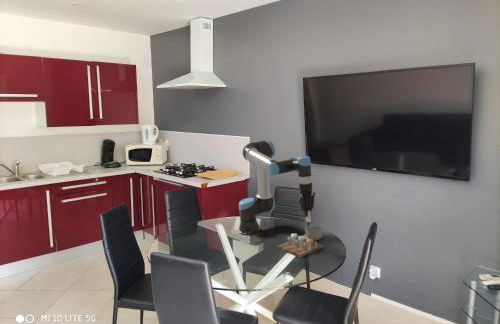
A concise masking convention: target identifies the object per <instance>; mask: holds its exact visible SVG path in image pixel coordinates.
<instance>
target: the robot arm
mask: <svg viewBox="0 0 500 324" xmlns="http://www.w3.org/2000/svg"><path fill="white" fill-rule="evenodd" d="M275 155H276V148H275V145H274V143H273V142H272V141H271V140H269V139H268V140H259V141H254V142H253V141H252V142H248V143H247V144H245V145H244V147H243V149H242V156H243V158H244V160H246V161H248V162H250V163H254V164H256V165H257V193H256V195H255V198H253V197H246V198H243V199H241V200H239V202H238V211H239V212H238V213H239V220H240V221H239V226H238V231H239V230H240V231H241V232H242V233H246V234H250V235H254V234H253V233H255V234H258V233H259V232H260V231H261V227H260V224H259V223H258V220H257V216H260V215H264V214H269V213H271V212H273V211H275V207H276V199H275V197H274V196H273V195H272V193H271V177H272V176H278V175H282V174H283V175H284V174H286V173H287V174H288V173H292V172H297V174H298V184H299V185H298V186H299V191H300V193H299V195H298V196H297V200H298V203H299V206H300V209H301V210H300V211H302V212H303V213H304V217H305V222H307V223H311V222H312V221H311V220H312V219H311V217H312V211H313V209H314V206H315V195H316V192H315V191H313V183H312V182H313V180H312V162H311V157H310V156H308V155H301V156H298V157H297V158H294V157H290V158H287V159H285V160H279V161H277V160H275V159H273V157H274V156H275Z"/></svg>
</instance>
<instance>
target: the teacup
mask: <svg viewBox="0 0 500 324" xmlns="http://www.w3.org/2000/svg"><path fill="white" fill-rule="evenodd" d="M304 230H305V237H306V239H313V241H315V242H317V241H319V240H321V238H322V237H323V227H322V226H321V225H319V224H310V225H308V226H306V227H305V228H304Z"/></svg>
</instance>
